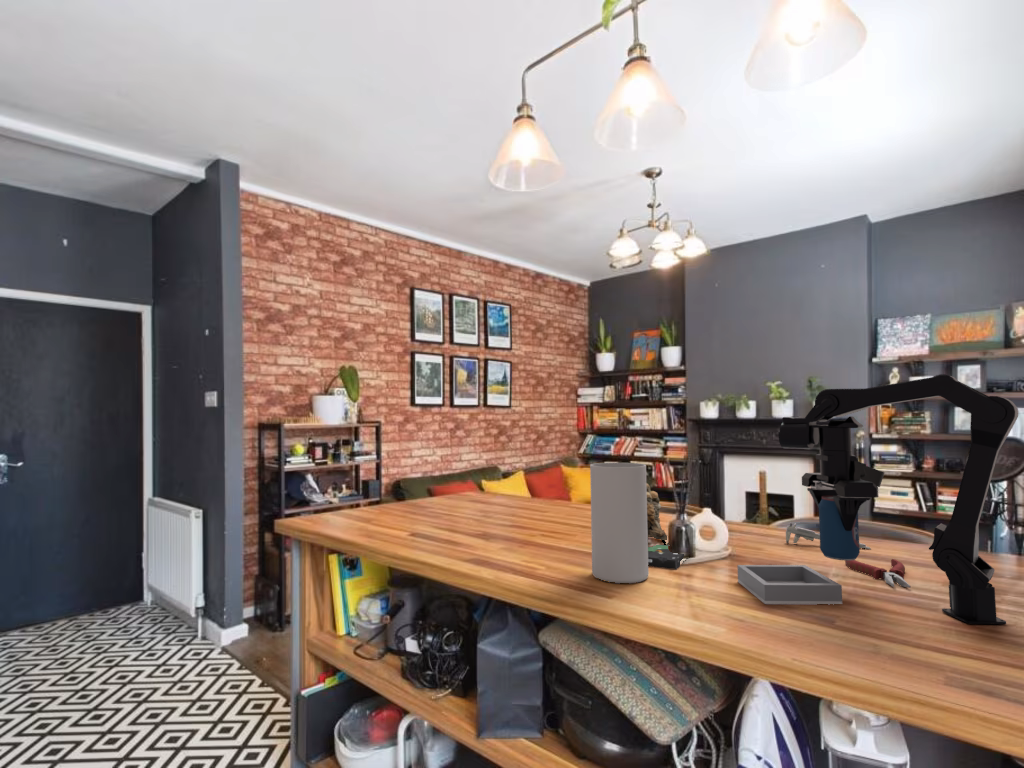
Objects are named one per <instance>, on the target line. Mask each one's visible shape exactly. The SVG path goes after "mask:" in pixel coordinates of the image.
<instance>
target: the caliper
mask: <svg viewBox="0 0 1024 768" xmlns="http://www.w3.org/2000/svg"><path fill="white" fill-rule="evenodd" d="M792 534H794V536H793V543H796V544H798V542H799V540H800V539H801V538H803V539H805V540H806V541H811V542H813V541H815V540H818V541H820V533H818V532H817V533H816V531H814V530H811V529H808V528H802V527H798V526H797V523H796V522H795V523H792V522H790V524H789V525H787V527H786V530H785V542H786V544H787V543H788V544H789V542H790V539H791V535H792ZM814 539H815V540H814ZM859 548H865V550H872V548H871V547H869V546H867V544H865V543H861V542H859Z"/></svg>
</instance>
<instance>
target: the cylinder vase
mask: <svg viewBox="0 0 1024 768" xmlns="http://www.w3.org/2000/svg"><path fill="white" fill-rule="evenodd" d="M589 466H590V468H589V470H590V474H589V475H590V520H591V522H590V523H591V524H590V525H591V526H590V527H591V530H590V531H591V534H590V536H591V574H592V576H594V578H595V579H597V578H599V579H601V580H600V581H602V580H605V581H609V582H608V583H610V582H615V583H614V584H620V583H629V584H637V583H640V582H643V581H646V580H647V579H648V578H649V573H650V572H649V566H648V529H647V486H646V483H647V465H646V464H644V463H638V462H637V463H635V462H598V463H590V465H589ZM599 579H598V580H599ZM605 581H604V582H605ZM636 582H637V583H636Z"/></svg>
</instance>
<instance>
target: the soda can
mask: <svg viewBox="0 0 1024 768" xmlns="http://www.w3.org/2000/svg"><path fill="white" fill-rule="evenodd" d="M818 523H819V527H818V528H819V530H818V531H819V534H820V540H819V549H820V552H821V553H822V555H823V556H824V557H825V558H827V559H831V560H836V561H844V562H845V561H850V560H856V559H857V558H858V556H860V555H859V554H860V552H861V549H860V548H859V543H860V533H859V532H860V529H859V528H860V527H859V512H858V513H857V516H856V519H855V522H854V525H853V528H852V530H851V531H846V530H845V529H844V526H843V524H842V521H841V518H840V515H839V512H838V510H837V507H836V504H835V501H834V498H833V496H822V500H821V501H820V503H819V508H818Z"/></svg>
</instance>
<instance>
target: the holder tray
mask: <svg viewBox="0 0 1024 768" xmlns="http://www.w3.org/2000/svg"><path fill="white" fill-rule="evenodd" d="M737 582H738V583H739V584H740V585H741V586H742V587H743V588H745V589H746V590H747V591H748V592H749V593H751V594H752V595H754V597H756V598H757V599H758V600H759V601H760V602H762V604H765V605H817V604H828V605H829V606H830V604H833V605H834V604H842V605H843V590H842V589H843V588H842V587H843V586H842V584H840V583H838V582H836V581H835V580H833V579H832V578H829V577H827V576H825V575H824V574H822V573H821V572H818V571H816V570H815V569H813V568H811V567H809V566H808V565H805V564H804V565H803V564H800V565H799V564H795V565H794V564H737ZM833 605H832V606H833Z"/></svg>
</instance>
